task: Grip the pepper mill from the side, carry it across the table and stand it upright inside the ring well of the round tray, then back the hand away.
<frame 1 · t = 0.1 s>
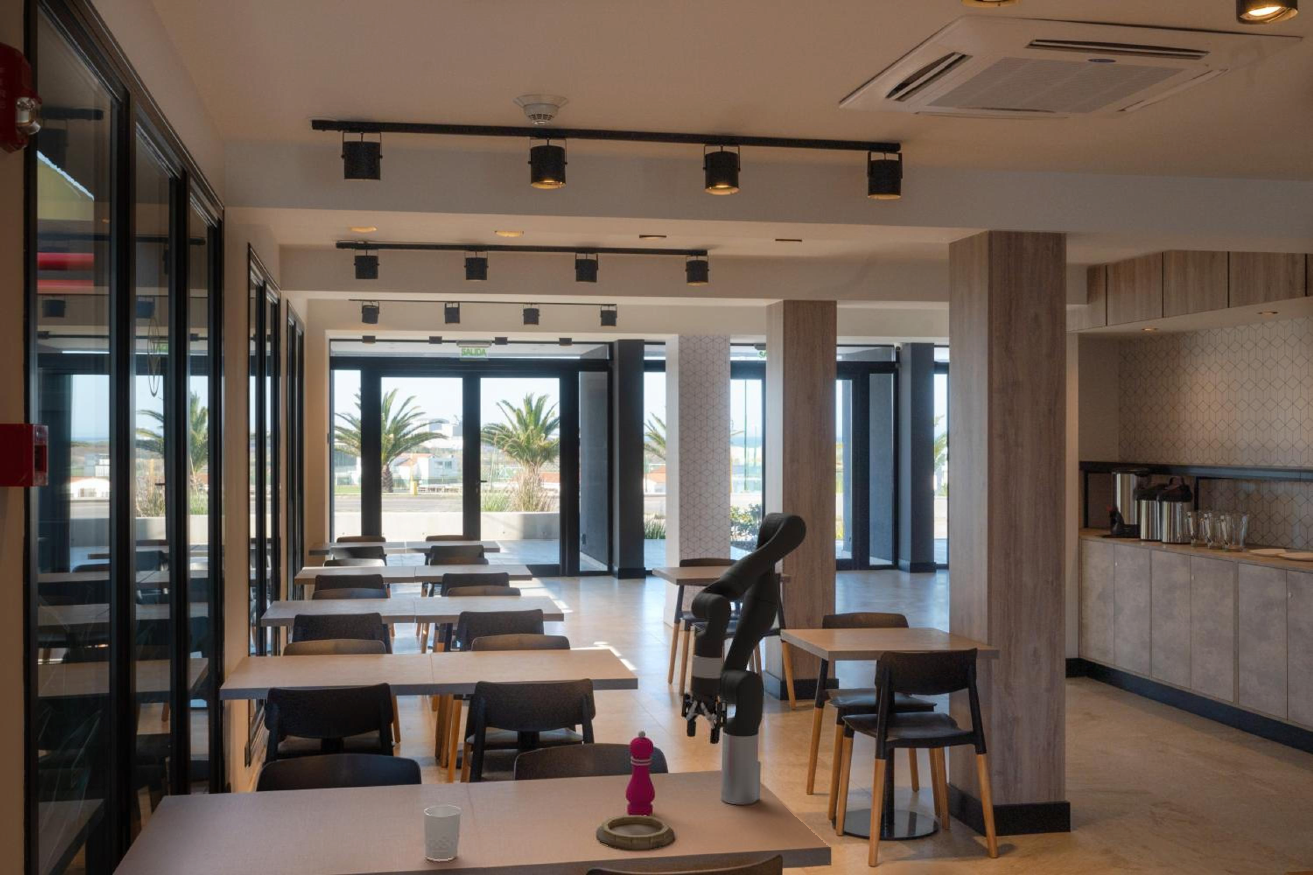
hand: (702, 739, 291), 17 cm above the table, tool pointing down, fingers open, 8 cm apart
tray: (635, 836, 270), on the table
pepper mill: (639, 813, 288), on the table
white cup: (441, 857, 255), on the table
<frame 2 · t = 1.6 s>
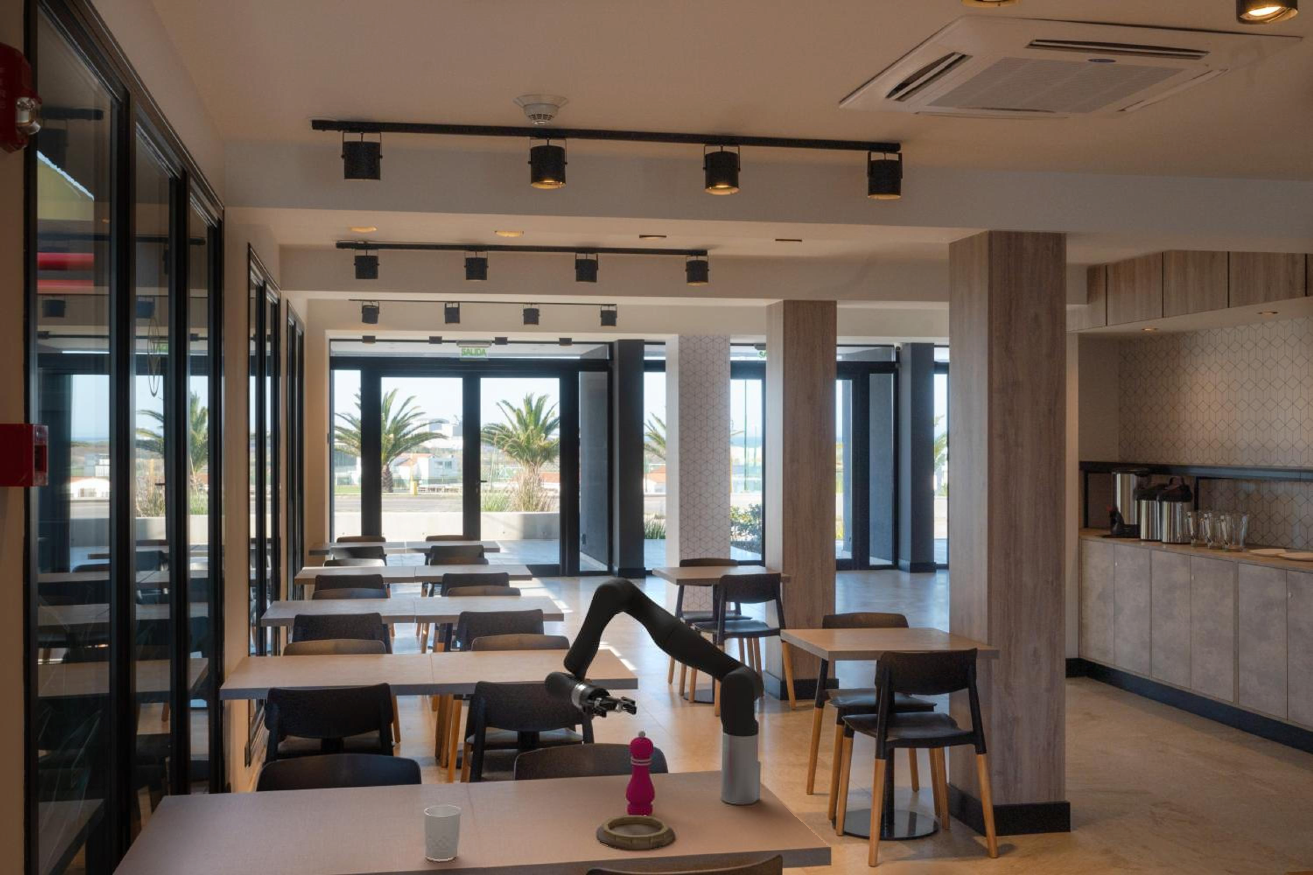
hand: (620, 712, 297), 22 cm above the table, tool horizontal, fingers open, 8 cm apart
nothing on the table moved.
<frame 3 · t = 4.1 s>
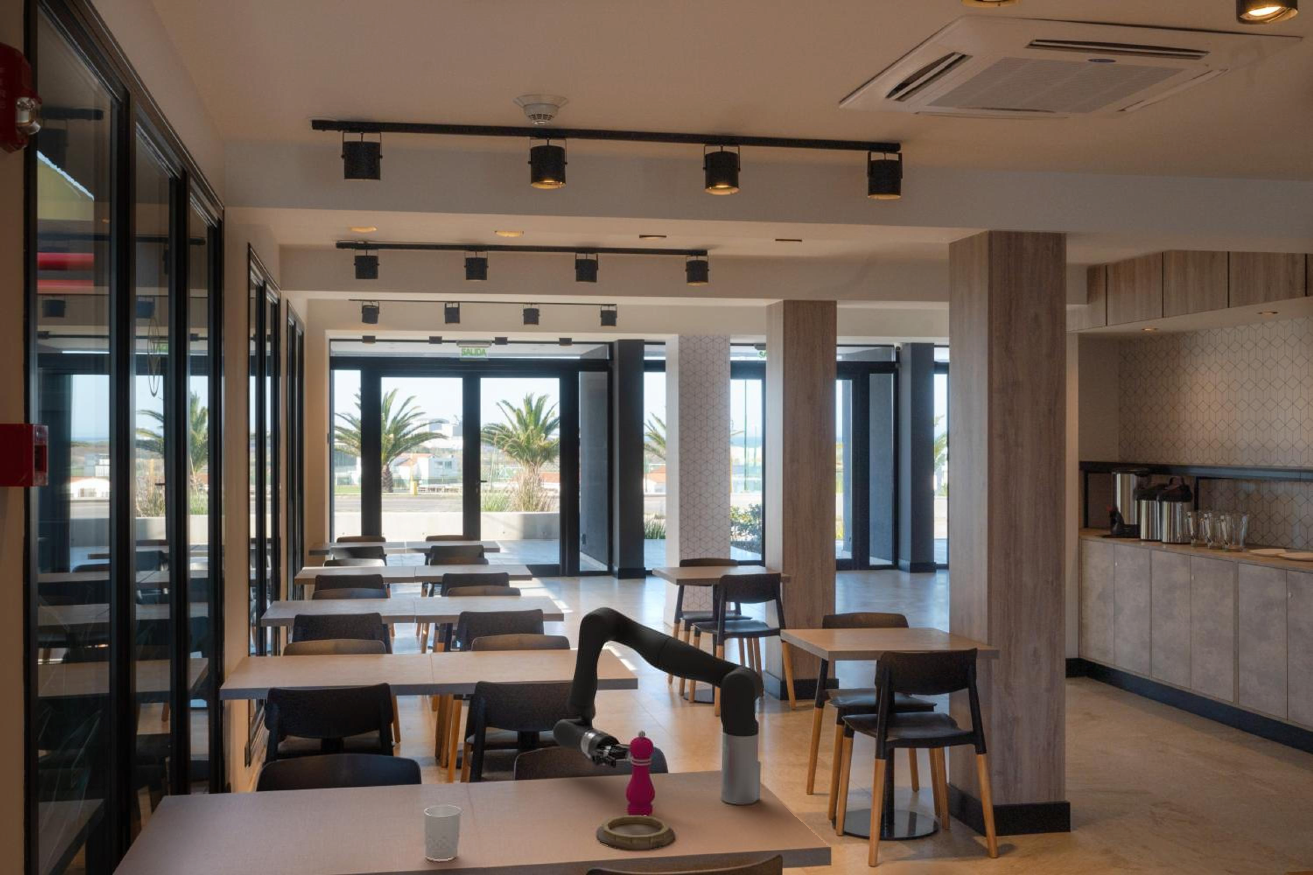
hand: (630, 761, 293), 11 cm above the table, tool horizontal, fingers open, 8 cm apart
nothing on the table moved.
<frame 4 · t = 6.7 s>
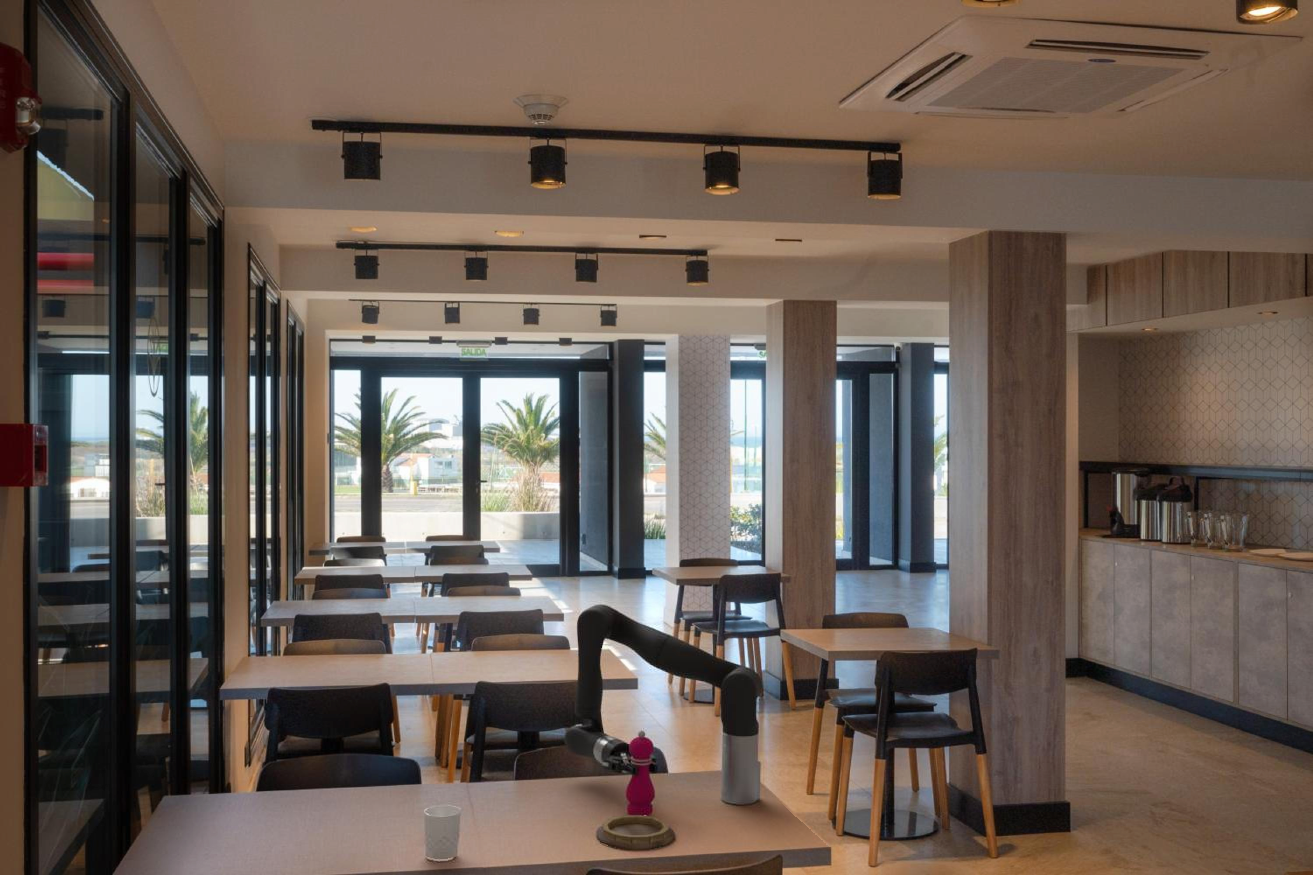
hand: (646, 770, 286), 11 cm above the table, tool horizontal, fingers closed on pepper mill, 4 cm apart
pepper mill: (639, 812, 288), on the table, touching gripper
everything else where it was.
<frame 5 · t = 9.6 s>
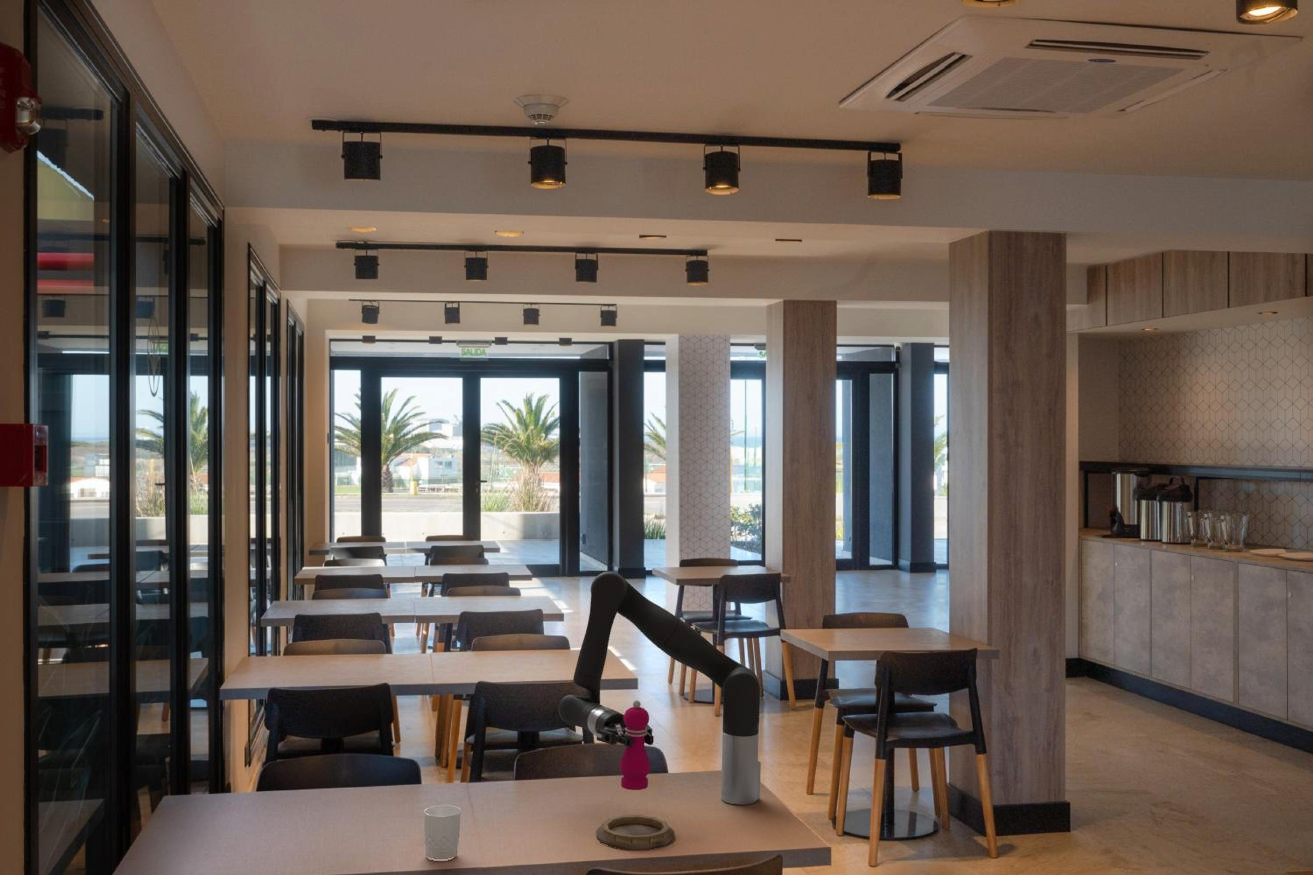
hand: (641, 741, 271), 22 cm above the table, tool horizontal, fingers closed on pepper mill, 4 cm apart
pepper mill: (634, 786, 273), point 11 cm above the table, touching gripper
everything else where it was.
when the fingers open (13 cm above the table, at t = 12.3 s): pepper mill moves 3 cm, resting on tray.
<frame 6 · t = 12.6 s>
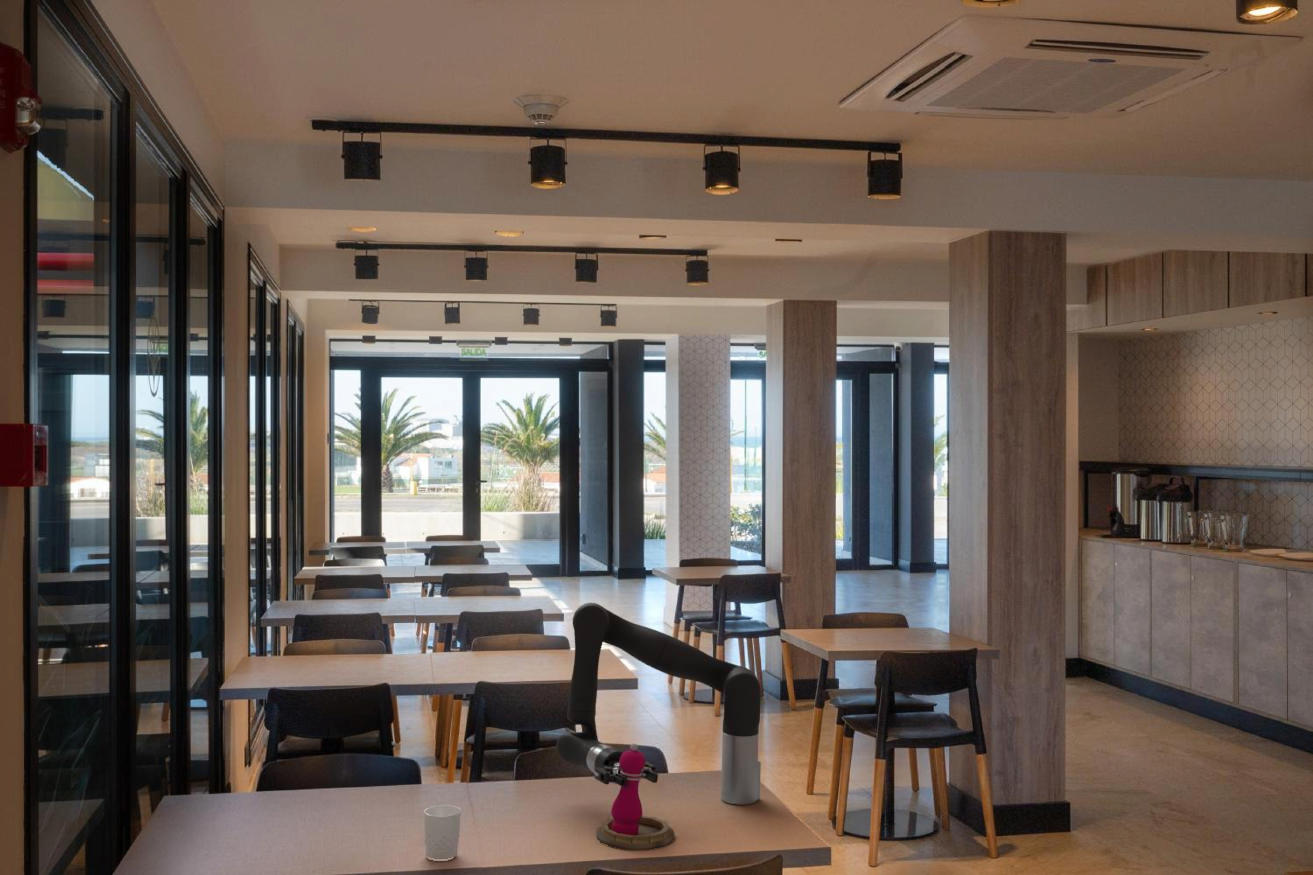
hand: (641, 780, 269), 13 cm above the table, tool horizontal, fingers open, 7 cm apart
pepper mill: (624, 832, 270), point 1 cm above the table, touching gripper, tray
everything else where it was.
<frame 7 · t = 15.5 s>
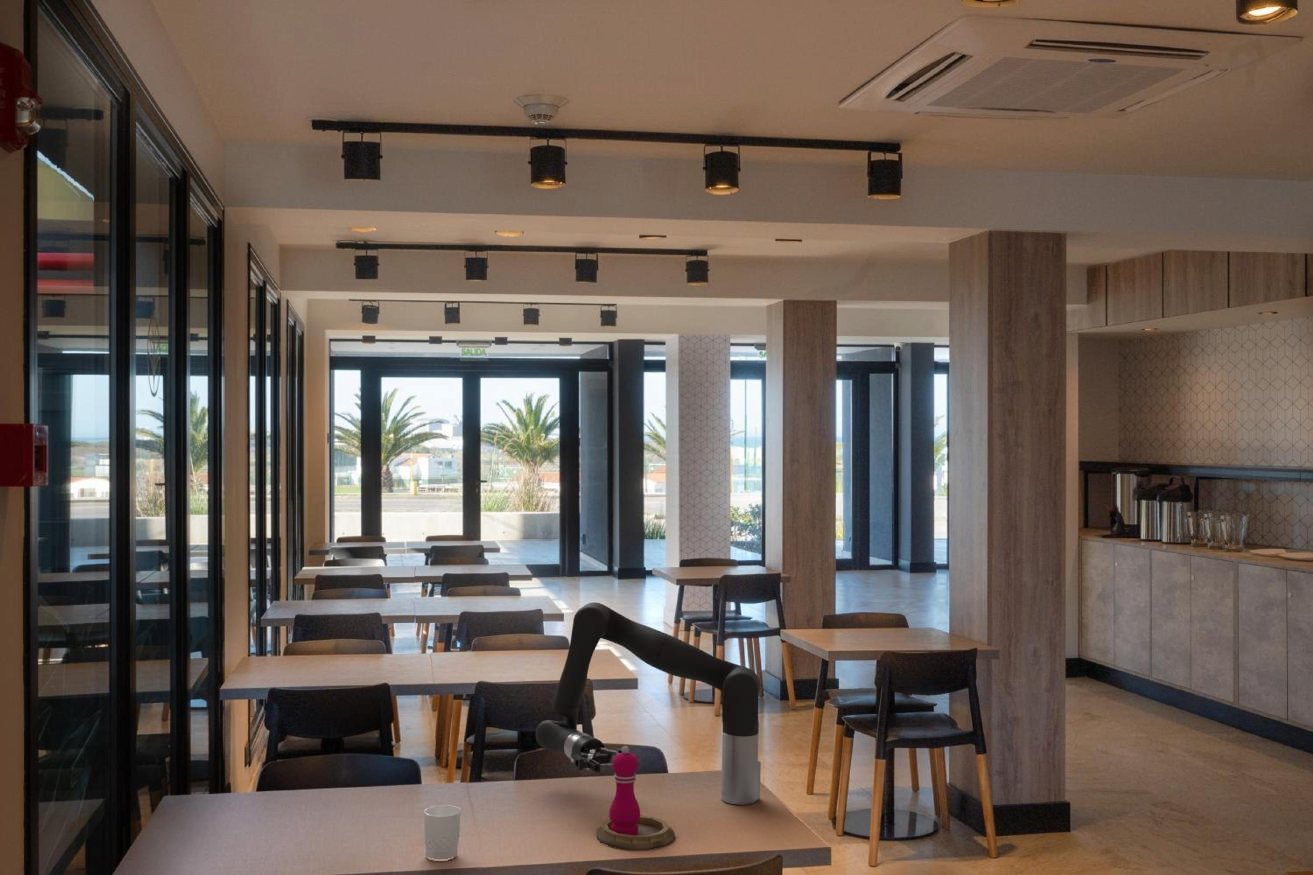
hand: (615, 766, 280), 14 cm above the table, tool horizontal, fingers open, 8 cm apart
pepper mill: (624, 833, 270), point 1 cm above the table, touching tray
everything else where it was.
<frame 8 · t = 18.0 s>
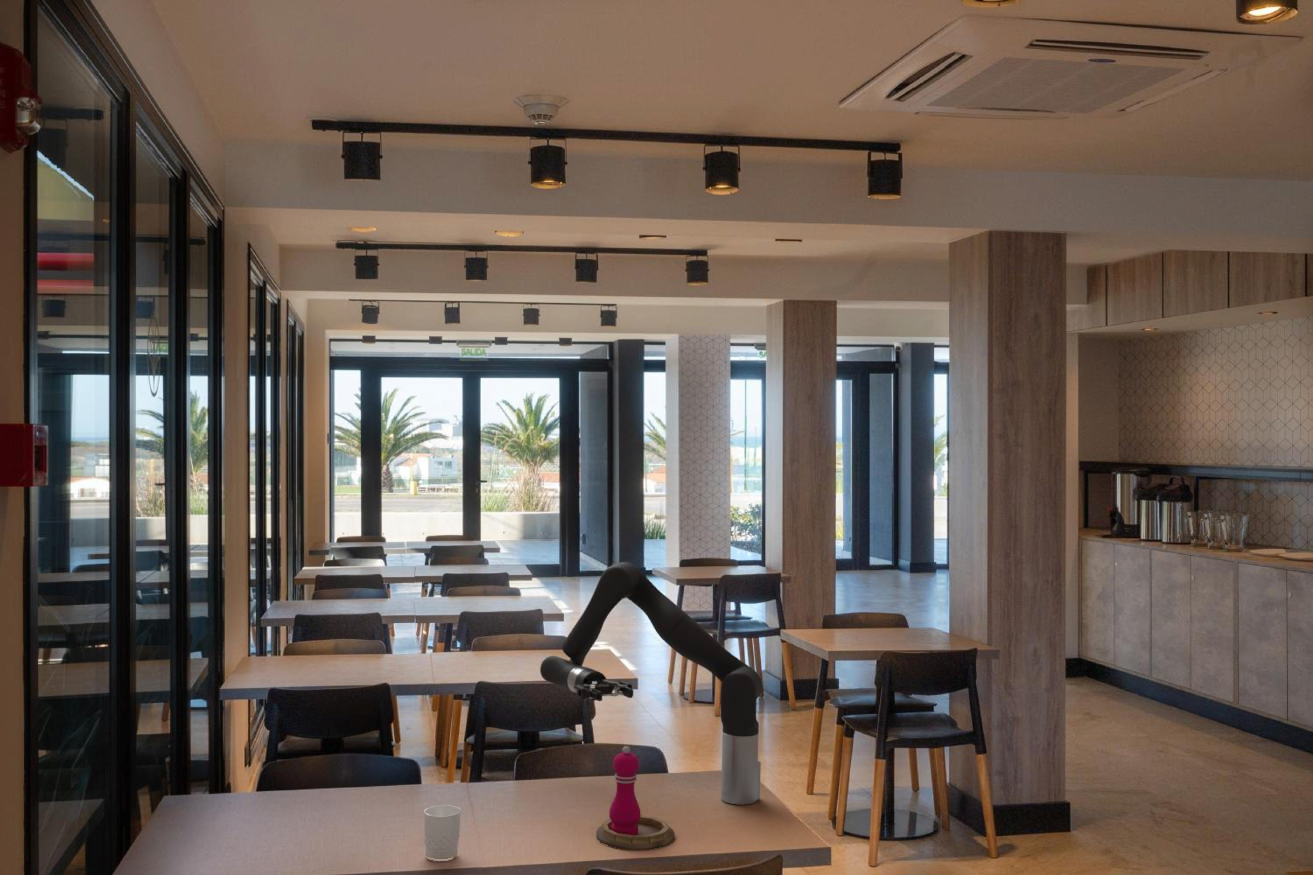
hand: (616, 695, 291), 28 cm above the table, tool horizontal, fingers open, 8 cm apart
nothing on the table moved.
at the end: pepper mill 2.7 cm off-centre on the tray, point 0.8 cm above the tray's base; pepper mill tilted 0°; the gripper is holding nothing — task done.
